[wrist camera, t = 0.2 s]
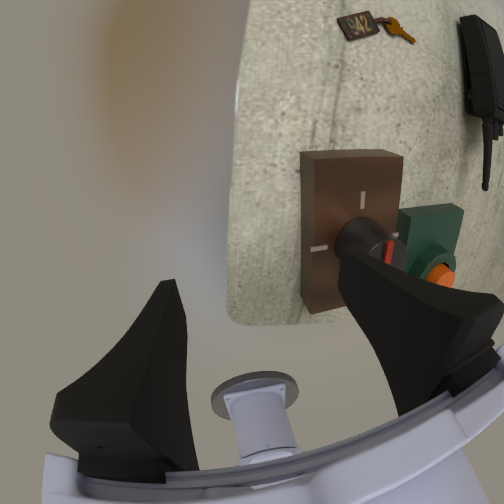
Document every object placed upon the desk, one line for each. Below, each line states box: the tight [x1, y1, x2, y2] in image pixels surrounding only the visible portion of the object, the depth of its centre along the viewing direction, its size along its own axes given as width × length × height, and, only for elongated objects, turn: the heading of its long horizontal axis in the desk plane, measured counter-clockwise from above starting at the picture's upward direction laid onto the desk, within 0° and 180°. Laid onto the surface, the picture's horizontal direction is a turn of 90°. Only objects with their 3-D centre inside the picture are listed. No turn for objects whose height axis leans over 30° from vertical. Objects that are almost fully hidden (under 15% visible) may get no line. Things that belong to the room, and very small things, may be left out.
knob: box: [335, 217, 407, 271], centre depth 20 cm, size 4×4×4 cm
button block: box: [395, 203, 464, 280], centre depth 26 cm, size 10×9×4 cm
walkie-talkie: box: [459, 15, 504, 191], centre depth 17 cm, size 6×6×20 cm
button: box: [426, 263, 455, 288], centre depth 25 cm, size 4×4×2 cm
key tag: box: [337, 11, 416, 43], centre depth 15 cm, size 8×3×1 cm, turn 105°
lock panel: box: [300, 149, 404, 314], centre depth 23 cm, size 14×9×3 cm, turn 5°
